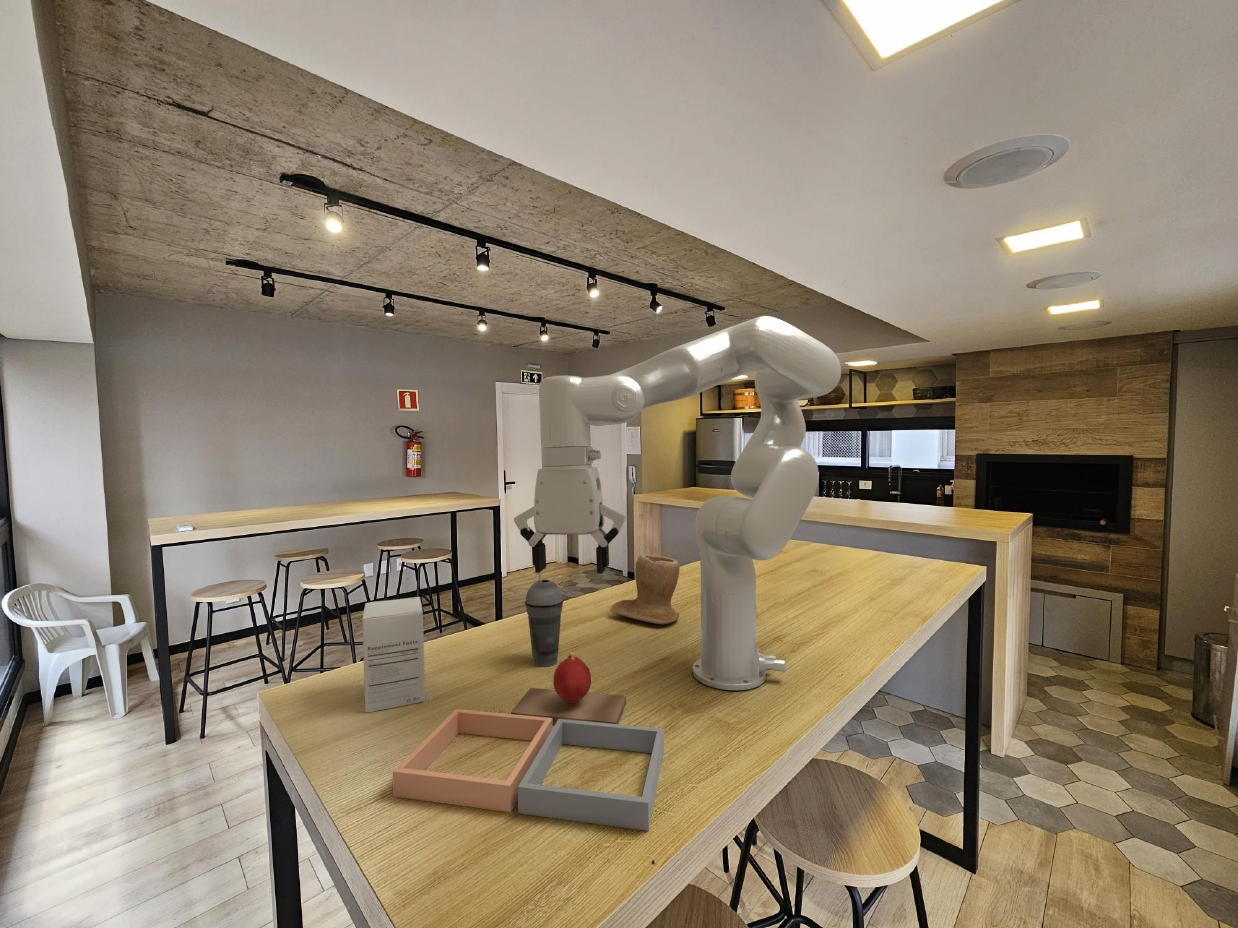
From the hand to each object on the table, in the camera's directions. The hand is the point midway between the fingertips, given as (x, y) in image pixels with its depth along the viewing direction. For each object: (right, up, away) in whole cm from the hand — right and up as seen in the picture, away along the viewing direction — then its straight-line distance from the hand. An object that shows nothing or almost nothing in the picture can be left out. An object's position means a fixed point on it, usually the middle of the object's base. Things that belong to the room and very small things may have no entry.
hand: (570, 571), depth 79 cm
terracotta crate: (-10, -22, -13) cm, 28 cm away
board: (0, -22, +1) cm, 22 cm away
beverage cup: (-7, -21, +19) cm, 29 cm away
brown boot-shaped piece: (+15, -20, +43) cm, 50 cm away
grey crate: (+5, -22, -16) cm, 28 cm away
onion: (0, -21, +1) cm, 21 cm away
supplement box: (-30, -22, +6) cm, 37 cm away
